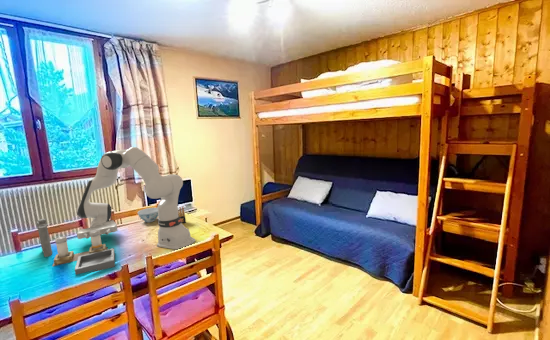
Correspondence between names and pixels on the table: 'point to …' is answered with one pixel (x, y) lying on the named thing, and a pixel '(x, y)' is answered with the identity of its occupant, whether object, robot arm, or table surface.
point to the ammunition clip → (182, 215)
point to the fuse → (62, 247)
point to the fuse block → (75, 256)
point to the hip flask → (44, 237)
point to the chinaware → (148, 214)
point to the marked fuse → (96, 240)
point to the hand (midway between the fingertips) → (97, 235)
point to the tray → (95, 261)
